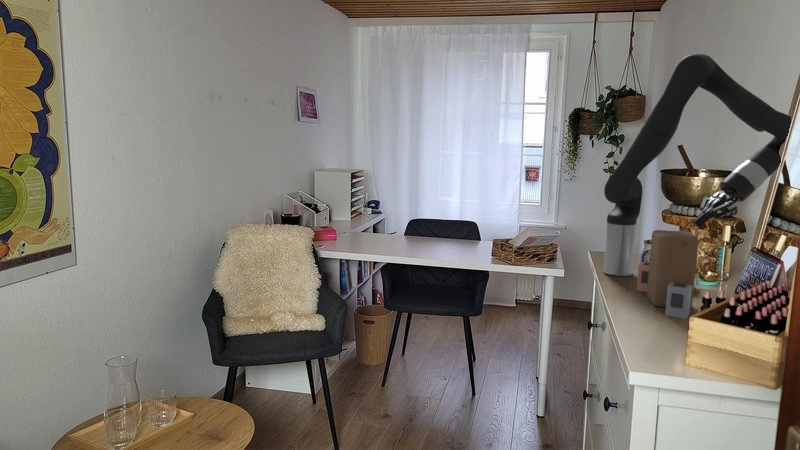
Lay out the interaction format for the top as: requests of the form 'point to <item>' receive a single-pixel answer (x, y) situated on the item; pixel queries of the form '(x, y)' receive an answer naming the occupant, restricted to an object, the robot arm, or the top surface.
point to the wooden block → (671, 263)
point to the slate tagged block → (678, 300)
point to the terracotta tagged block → (643, 276)
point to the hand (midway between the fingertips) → (695, 225)
